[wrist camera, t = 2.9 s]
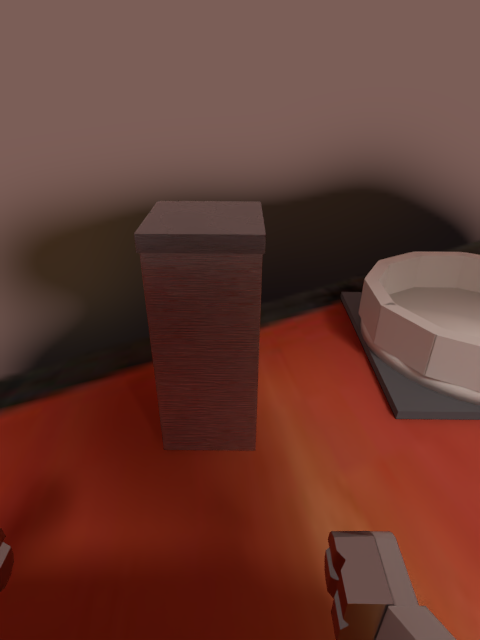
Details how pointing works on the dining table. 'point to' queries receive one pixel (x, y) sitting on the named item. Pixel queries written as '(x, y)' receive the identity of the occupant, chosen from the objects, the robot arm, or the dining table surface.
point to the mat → (407, 383)
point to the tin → (204, 319)
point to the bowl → (427, 319)
